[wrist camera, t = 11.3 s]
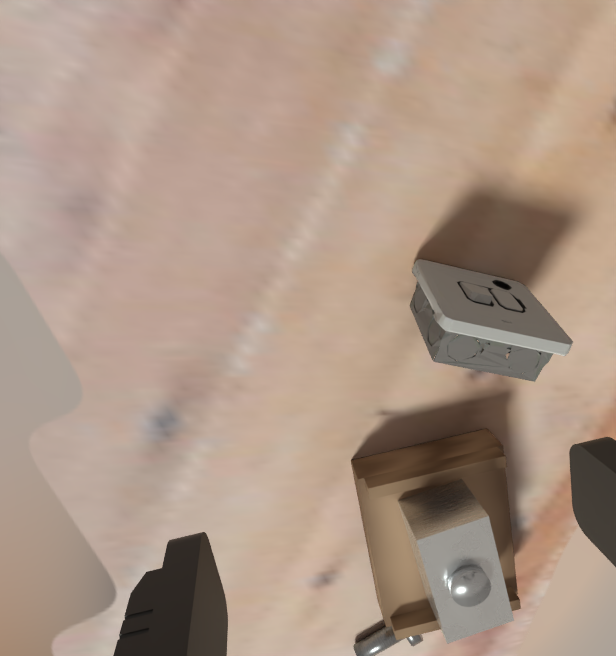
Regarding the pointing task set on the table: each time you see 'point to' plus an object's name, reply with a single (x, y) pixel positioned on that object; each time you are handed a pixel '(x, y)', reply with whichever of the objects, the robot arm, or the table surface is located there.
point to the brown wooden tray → (389, 528)
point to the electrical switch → (484, 322)
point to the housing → (457, 560)
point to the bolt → (381, 642)
